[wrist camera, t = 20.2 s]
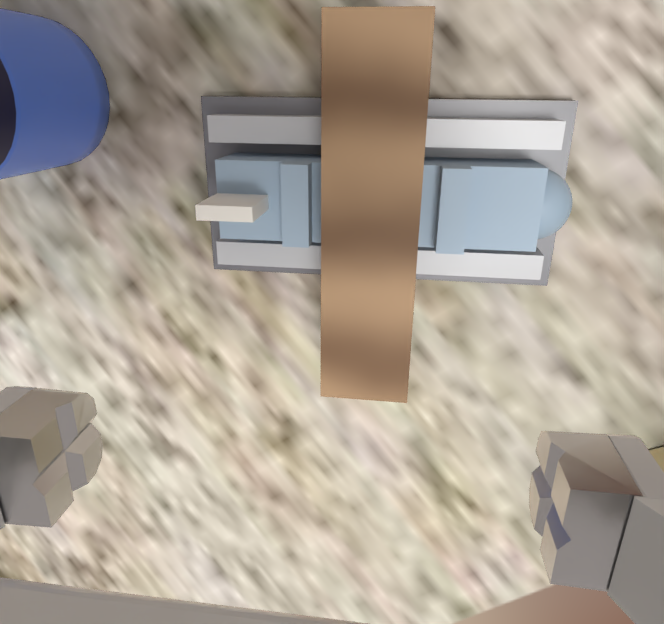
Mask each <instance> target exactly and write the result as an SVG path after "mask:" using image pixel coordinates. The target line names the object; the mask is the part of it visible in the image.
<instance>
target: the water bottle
mask: <svg viewBox="0 0 664 624" xmlns="http://www.w3.org/2000/svg"><path fill="white" fill-rule="evenodd" d="M109 111H110V103H109V92H108V88H107V84H106V80H105V77H104V74H103V72H102V70H101V67H100V65H99V63H98V61H97V60H96V58H95V56H94V55H93V53H92V52H91V50H90V49H89V48H88V47H87V45H86V44H85V43H84V42H83V41H82V40H81V38H79V37H78V36H77V35H76V34H75V33H73V32H72V31H71V30H70V29H68V28H67V27H65V26H63V25H61V24H60V23H58V22H56V21H53V20H50V19H47V18H44V17H40V16H35V15H31V14H26V13H21V12H16V11H11V10H6V9H1V8H0V179H4V178H8V177H13V176H18V175H23V174H27V173H32V172H37V171H41V170H46V169H50V168H55V167H60V166H64V165H69V164H72V163H75V162H78V161H80V160H82V159H83V158H85V157H86V156H88V155H89V154H91V152H92V151H93V150H94V149H95V148H96V147H97V146H98V145H99V143H100V141H101V139H102V138H103V136H104V134H105V131H106V128H107V124H108V120H109Z"/></svg>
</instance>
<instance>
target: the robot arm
mask: <svg viewBox="0 0 664 624" xmlns="http://www.w3.org/2000/svg"><path fill="white" fill-rule="evenodd" d="M96 415H97V411H96V407H95V402H94V398H93V397H91V396H90V395H89V394H88V393H81V392H72V391H62V390H52V389H42V388H34V387H19V386H14V387H6V388H5V389H4V390H2V391H1V392H0V529H1V528H3V527H5V524H16V525H28V526H40V527H52V526H53V525H54V524H55V523H56V522H57V520H58V519H59V518H60V517H61V516H62V514H63V513H64V512H65V511H66V509H67V508H68V507H69V506H70V505H71V503H72V502H73V501H74V498H73V491H74V490H76V489H78V488H80V487H82V486H84V485H86V484H88V483H89V481H90V480H91V479H92V478H93V476H94V475H95V474H96V472H97V469H98V467H99V464H100V461H101V458H102V446H103V445H102V439H101V434H100V433H99V431H98V430H97V429H96V428H95V427H94V426H93V425H92V421H93V419H94V418H95V416H96ZM536 453H537V456H538V459H539V462H540V466H539V467H538V468H537V469H535V470H534V471H533V472H532V475H531V481H530V488H529V507H530V514H531V519H532V523H533V527H534V529H535V530H536V531H537V532H538V533H539V534H540V535H541V536H543V538H542V543H541V548H540V551H541V555H542V558H543V561H544V565H545V568H546V571H547V575H548V578H549V582H550V584H557V585H564V586H572V587H578V588H585V589H592V590H600V591H607V592H608V595H609V596H610V598H611V599H612V600H613V601H614V602H615V603H616V604H617V605H618V606H619V607H620V608H621V609H622V610H623V611H624V612H625V613H626V614H627V615H628V617H630V619H631V620H632V621H633V622H634V623H635V624H664V472H663V471H662V469H661V468H660V466H659V465H658V463H657V462H656V460H655V459H654V458H653V456H652V455H651V453H650V452H649V450H648V449H647V447H646V446H645V444H644V443H643V441H642V440H641V439H640V438H638V437H636V436H633V435H611V434H588V433H571V432H553V431H541V433H540V436H539V438H538V442H537V447H536ZM0 624H368V623H360V622H352V621H344V620H336V619H328V618H320V617H313V616H305V615H297V614H289V613H281V612H272V611H264V610H256V609H248V608H240V607H232V606H224V605H216V604H208V603H200V602H192V601H184V600H176V599H167V598H159V597H151V596H143V595H135V594H127V593H119V592H111V591H103V590H95V589H87V588H79V587H72V586H64V585H56V584H48V583H40V582H32V581H24V580H16V579H8V578H0Z"/></svg>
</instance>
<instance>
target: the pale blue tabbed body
mask: <svg viewBox="0 0 664 624" xmlns="http://www.w3.org/2000/svg"><path fill="white" fill-rule="evenodd" d="M548 169H549V168H547V167H545V166H544V165H542V164H540V163H538V162H536V161H534V160H533V159H492V158H450V157H424V170H423V184H422V198H421V212H420V226H419V240H418V247H433V248H435V252H436V253H438V254H461V255H464V249H480V250H504V251H527V252H536V246H537V240H538V239H541V238H545V237H547V236H550V235H552V234H553V233H555V232H556V231H558V230H559V229H560V228H561V227H562V226H563V225H564V224H565V222H566V221H567V219H568V217H569V215H570V212H571V208H572V194H571V191H570V188H569V186H568V184H567V183H566V181H565V180H564V179H563V178H562V177H561V176H560V175H558V174H557V173H555V172H553V171H551V170H548ZM215 170H216V184H217V194H215V195H213V196H211V197H209V198H207V199H205V200H203V201H202V202H200V203H198V204H196V205H195V210H196V220H200V221H219V226H220V238H222V239H246V240H269V241H282V247H301V248H309V247H310V245H311V243H312V242H316V243H321V154H280V153H238V152H236V153H233V154H230V155H227V156H224V157H221V158H219V159H216V160H215Z"/></svg>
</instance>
